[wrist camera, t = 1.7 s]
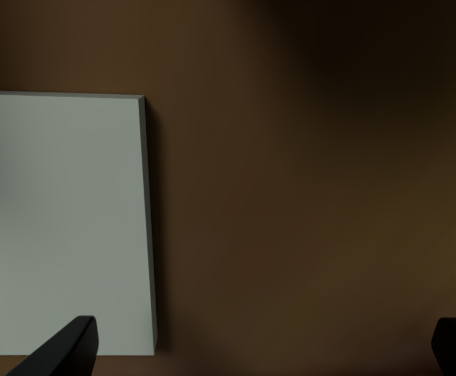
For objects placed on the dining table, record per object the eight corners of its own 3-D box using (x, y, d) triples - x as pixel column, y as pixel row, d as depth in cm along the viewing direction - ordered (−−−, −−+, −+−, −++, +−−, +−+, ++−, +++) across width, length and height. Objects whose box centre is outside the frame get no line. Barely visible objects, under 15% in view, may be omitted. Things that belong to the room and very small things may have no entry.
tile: (144, 95, 10) (138, 99, 9) (157, 337, 13) (154, 355, 12) (-189, 84, 9) (-224, 88, 9) (-87, 336, 13) (-106, 354, 12)
